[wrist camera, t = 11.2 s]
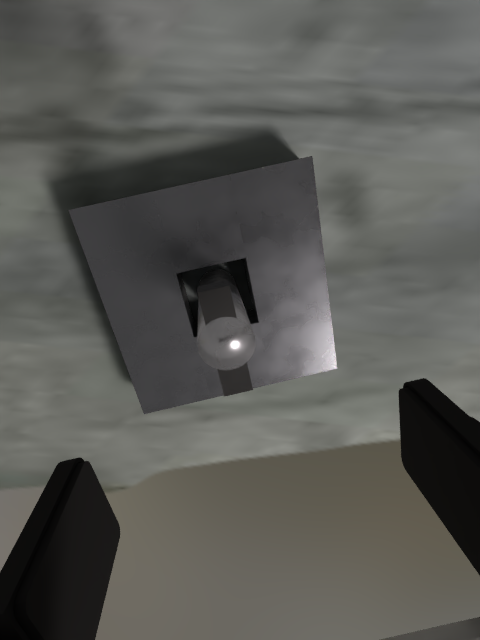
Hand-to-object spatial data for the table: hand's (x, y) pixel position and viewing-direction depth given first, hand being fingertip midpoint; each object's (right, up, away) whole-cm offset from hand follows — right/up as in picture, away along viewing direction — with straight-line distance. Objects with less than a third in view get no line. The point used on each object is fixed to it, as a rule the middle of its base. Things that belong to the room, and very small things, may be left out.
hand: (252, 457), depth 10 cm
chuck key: (-2, +7, +18) cm, 19 cm away
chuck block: (-2, +7, +18) cm, 19 cm away
